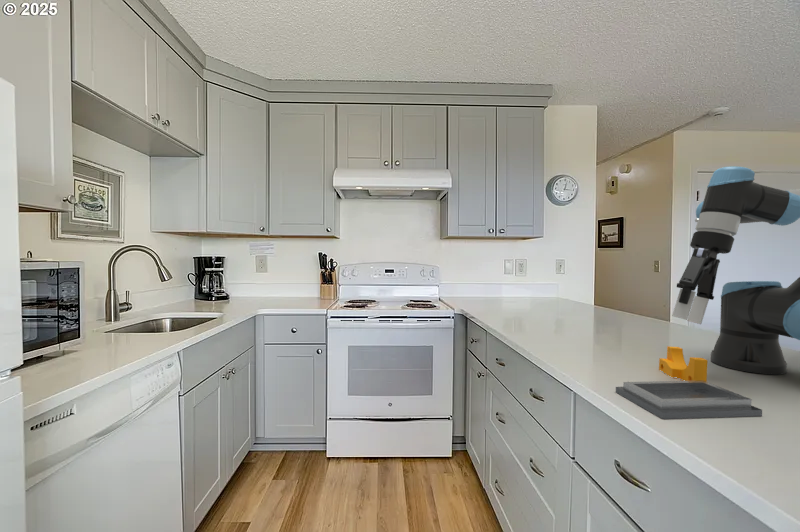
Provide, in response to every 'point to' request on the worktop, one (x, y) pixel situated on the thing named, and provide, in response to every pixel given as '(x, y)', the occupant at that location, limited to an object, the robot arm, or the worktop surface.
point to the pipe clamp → (683, 365)
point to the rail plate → (687, 399)
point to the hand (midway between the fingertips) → (687, 320)
